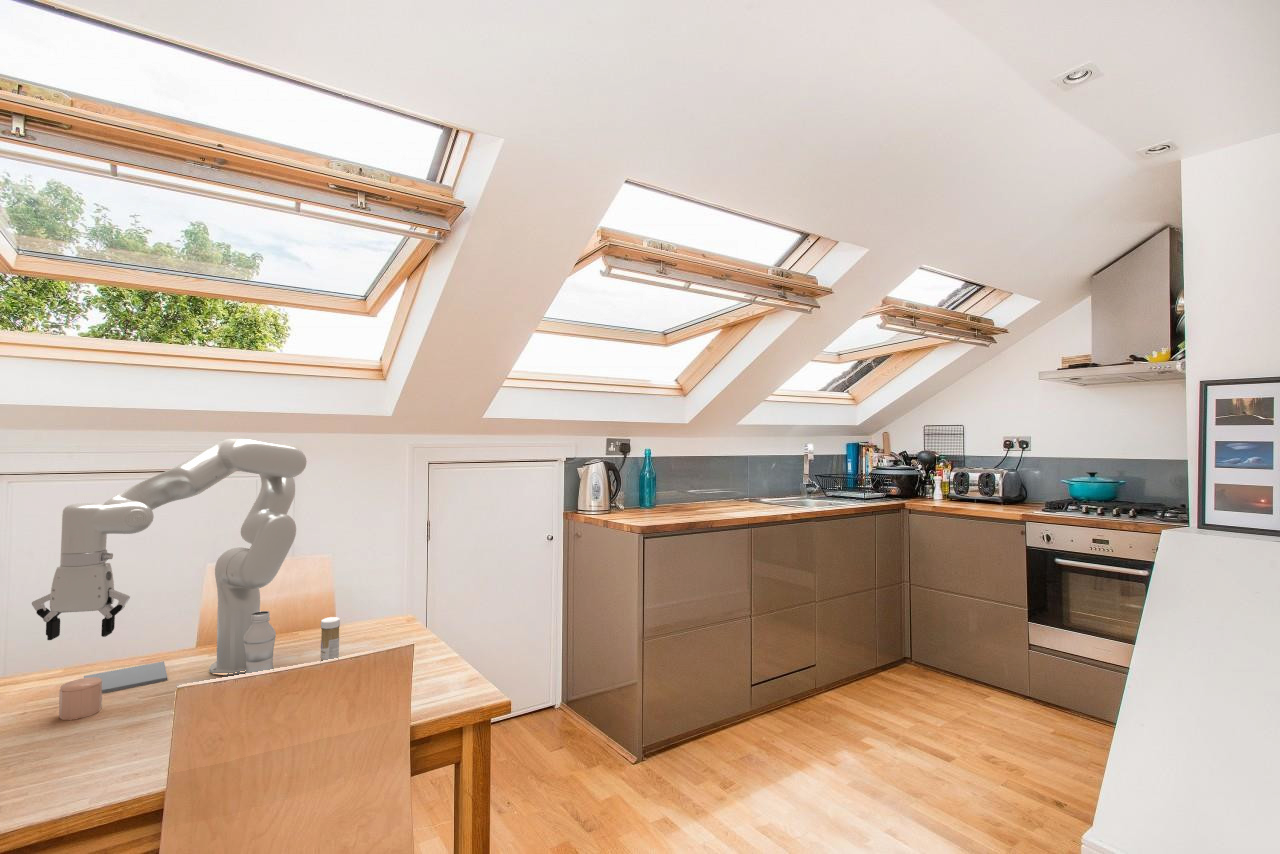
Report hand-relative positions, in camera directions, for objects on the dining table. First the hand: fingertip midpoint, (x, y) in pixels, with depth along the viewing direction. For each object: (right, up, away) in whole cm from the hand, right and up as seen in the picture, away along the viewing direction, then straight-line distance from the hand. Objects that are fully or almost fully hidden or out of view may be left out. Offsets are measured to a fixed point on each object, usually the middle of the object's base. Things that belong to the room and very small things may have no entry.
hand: (80, 636), depth 137 cm
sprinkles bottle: (+42, -18, +26) cm, 53 cm away
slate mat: (-5, -17, +18) cm, 26 cm away
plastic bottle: (+34, -18, +9) cm, 40 cm away
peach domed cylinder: (0, -17, 0) cm, 17 cm away
